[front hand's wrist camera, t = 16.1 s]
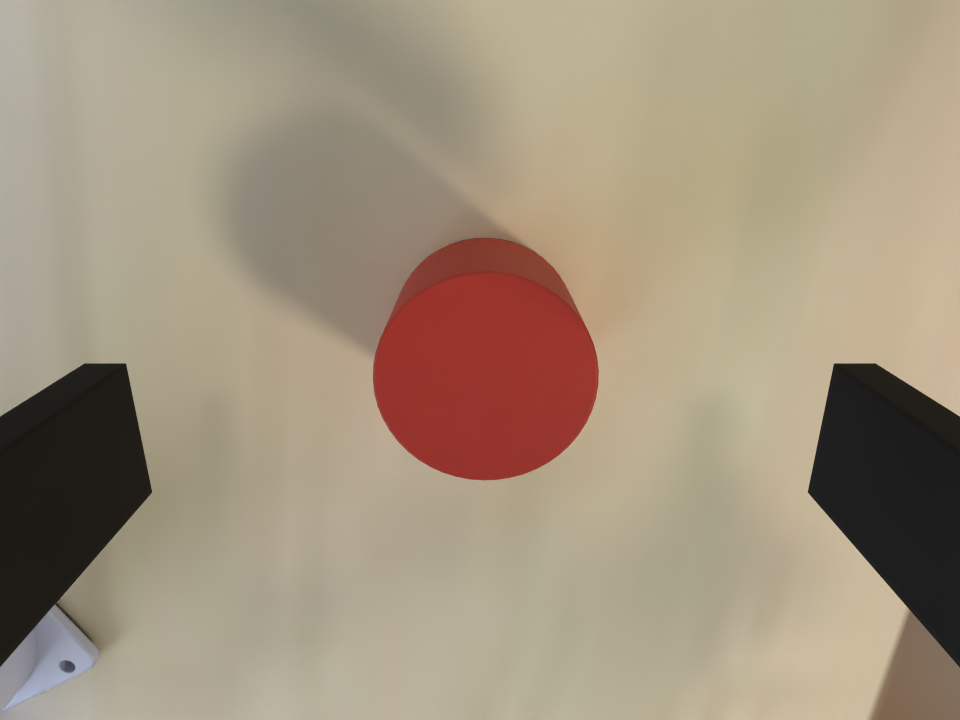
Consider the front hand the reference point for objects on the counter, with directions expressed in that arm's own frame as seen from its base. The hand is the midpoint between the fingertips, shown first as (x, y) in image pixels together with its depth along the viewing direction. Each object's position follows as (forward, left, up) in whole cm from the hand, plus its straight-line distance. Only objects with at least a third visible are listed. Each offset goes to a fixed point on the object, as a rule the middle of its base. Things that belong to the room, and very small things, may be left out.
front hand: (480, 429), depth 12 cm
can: (0, 0, -6) cm, 6 cm away
